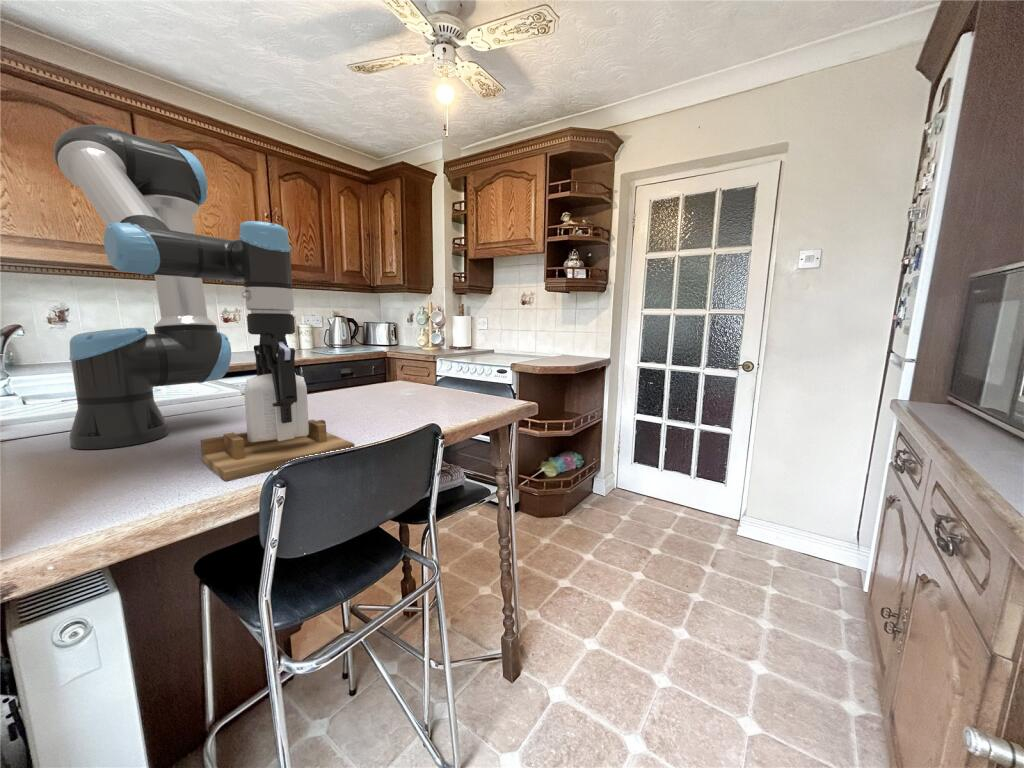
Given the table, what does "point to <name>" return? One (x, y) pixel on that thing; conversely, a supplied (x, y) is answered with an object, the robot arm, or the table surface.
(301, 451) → the ledge shelf
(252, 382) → the photo printer
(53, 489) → the table surface
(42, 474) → the table surface
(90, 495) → the table surface
